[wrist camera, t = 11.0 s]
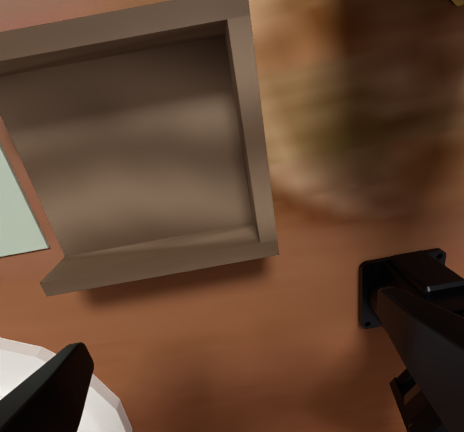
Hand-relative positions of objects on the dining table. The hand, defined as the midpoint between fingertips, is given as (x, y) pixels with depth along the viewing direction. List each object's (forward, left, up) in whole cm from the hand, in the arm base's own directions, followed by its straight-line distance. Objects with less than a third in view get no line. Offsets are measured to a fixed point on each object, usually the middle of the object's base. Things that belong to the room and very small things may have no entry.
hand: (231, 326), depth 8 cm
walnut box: (+4, +4, -12) cm, 13 cm away
